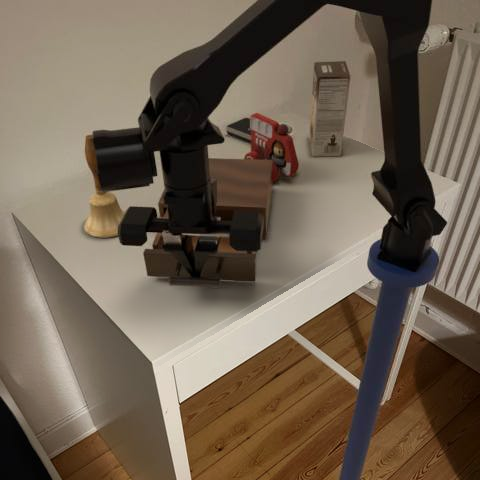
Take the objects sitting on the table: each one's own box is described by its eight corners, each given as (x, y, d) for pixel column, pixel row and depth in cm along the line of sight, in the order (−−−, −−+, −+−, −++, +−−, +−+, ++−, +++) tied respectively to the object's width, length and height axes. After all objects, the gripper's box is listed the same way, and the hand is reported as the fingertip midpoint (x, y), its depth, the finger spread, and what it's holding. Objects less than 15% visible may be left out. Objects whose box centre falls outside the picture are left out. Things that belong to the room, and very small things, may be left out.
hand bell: (124, 208, 93) (106, 121, 82) (138, 230, 87) (121, 140, 76) (79, 220, 90) (55, 132, 79) (91, 243, 85) (66, 152, 74)
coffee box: (308, 138, 113) (313, 60, 102) (337, 138, 112) (345, 60, 101) (311, 157, 106) (317, 76, 95) (342, 156, 106) (352, 75, 95)
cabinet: (265, 239, 84) (266, 207, 80) (162, 235, 86) (157, 203, 82) (272, 190, 96) (273, 159, 92) (181, 187, 98) (178, 157, 94)
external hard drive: (246, 125, 119) (246, 117, 117) (282, 138, 113) (282, 129, 112) (225, 134, 115) (225, 126, 114) (261, 148, 109) (261, 139, 108)
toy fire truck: (279, 190, 96) (280, 136, 89) (239, 167, 103) (237, 116, 96) (305, 178, 99) (309, 126, 92) (264, 157, 106) (265, 107, 99)
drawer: (252, 301, 72) (252, 277, 69) (140, 294, 73) (135, 271, 70) (263, 224, 86) (263, 202, 83) (169, 221, 87) (166, 198, 85)
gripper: (267, 151, 67) (265, 248, 78) (130, 147, 69) (147, 243, 79) (260, 193, 59) (259, 295, 70) (105, 188, 61) (128, 288, 71)
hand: (197, 278), depth 73 cm, fingers closed
